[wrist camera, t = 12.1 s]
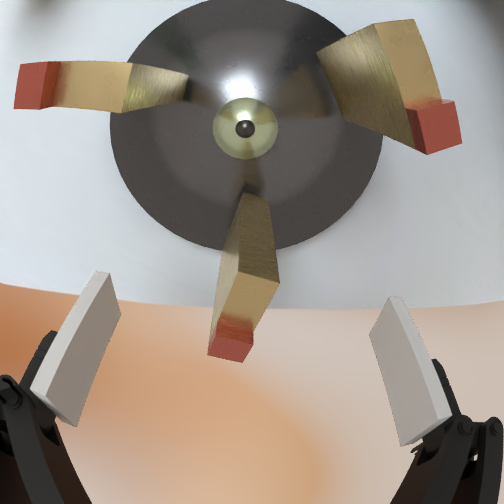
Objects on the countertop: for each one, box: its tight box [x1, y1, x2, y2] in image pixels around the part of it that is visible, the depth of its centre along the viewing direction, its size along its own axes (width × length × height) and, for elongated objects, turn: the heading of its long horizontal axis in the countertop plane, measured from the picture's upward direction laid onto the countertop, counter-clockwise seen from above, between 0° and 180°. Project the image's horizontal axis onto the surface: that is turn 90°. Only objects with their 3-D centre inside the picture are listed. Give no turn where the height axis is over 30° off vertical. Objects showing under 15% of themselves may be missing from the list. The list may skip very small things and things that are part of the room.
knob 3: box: [316, 19, 462, 155], centre depth 10 cm, size 5×2×10 cm, turn 24°
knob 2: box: [207, 192, 280, 363], centre depth 16 cm, size 5×2×10 cm, turn 160°
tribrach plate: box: [110, 0, 383, 250], centre depth 17 cm, size 19×19×3 cm
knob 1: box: [14, 61, 189, 113], centre depth 10 cm, size 5×2×10 cm, turn 73°
